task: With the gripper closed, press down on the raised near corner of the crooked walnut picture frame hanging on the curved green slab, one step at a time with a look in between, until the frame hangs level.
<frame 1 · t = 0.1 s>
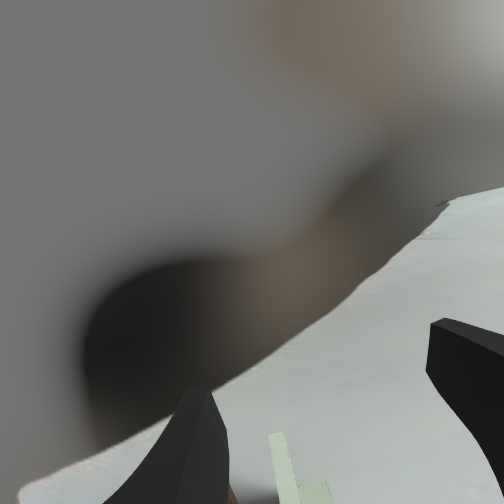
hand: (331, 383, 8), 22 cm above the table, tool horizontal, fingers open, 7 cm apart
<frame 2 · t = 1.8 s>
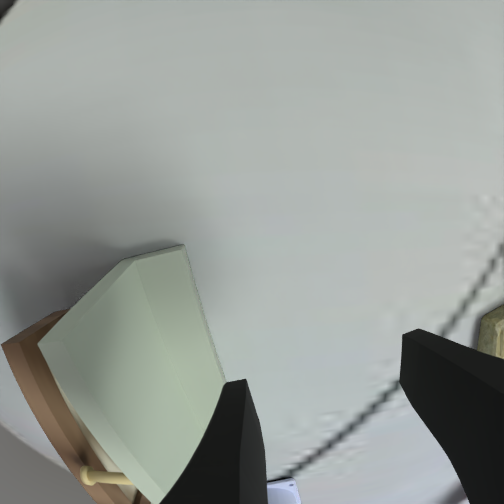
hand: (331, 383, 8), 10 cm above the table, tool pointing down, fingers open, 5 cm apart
picture frame: (91, 436, 15), point 5 cm above the table, hinge at 8.0°
curved green slab: (175, 376, 20), on the table
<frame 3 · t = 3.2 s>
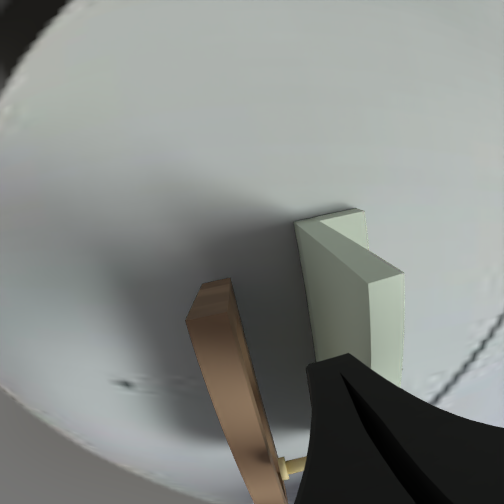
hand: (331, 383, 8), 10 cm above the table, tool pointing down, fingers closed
picture frame: (250, 426, 15), point 5 cm above the table, hinge at 8.0°
curved green slab: (322, 347, 20), on the table
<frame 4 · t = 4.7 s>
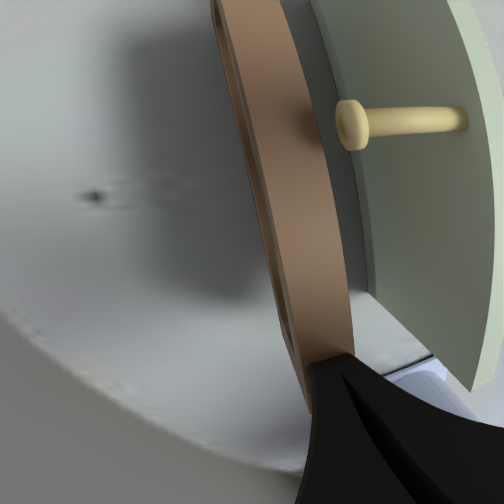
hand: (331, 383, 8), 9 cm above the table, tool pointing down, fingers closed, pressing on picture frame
picture frame: (273, 154, 10), point 5 cm above the table, hinge at 4.6°, touching gripper
curved green slab: (357, 138, 15), on the table
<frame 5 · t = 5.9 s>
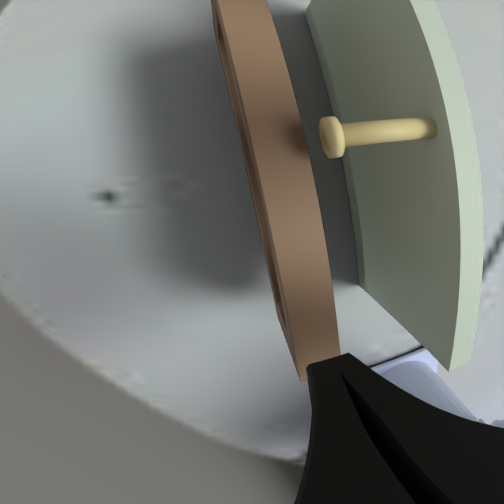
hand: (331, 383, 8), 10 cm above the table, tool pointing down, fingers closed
picture frame: (268, 157, 12), point 5 cm above the table, hinge at 3.0°
curved green slab: (348, 143, 17), on the table
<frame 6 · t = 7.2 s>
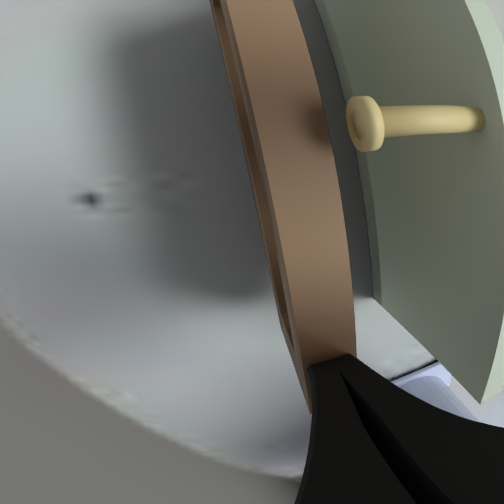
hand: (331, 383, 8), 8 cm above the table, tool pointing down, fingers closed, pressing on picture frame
picture frame: (274, 145, 9), point 5 cm above the table, hinge at -0.4°, touching gripper
curved green slab: (363, 138, 14), on the table
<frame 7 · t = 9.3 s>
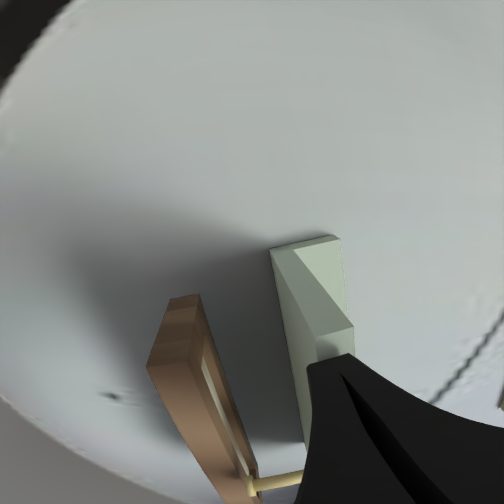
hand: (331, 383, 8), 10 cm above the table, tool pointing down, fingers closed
picture frame: (222, 437, 15), point 5 cm above the table, hinge at -0.9°
curved green slab: (300, 368, 20), on the table
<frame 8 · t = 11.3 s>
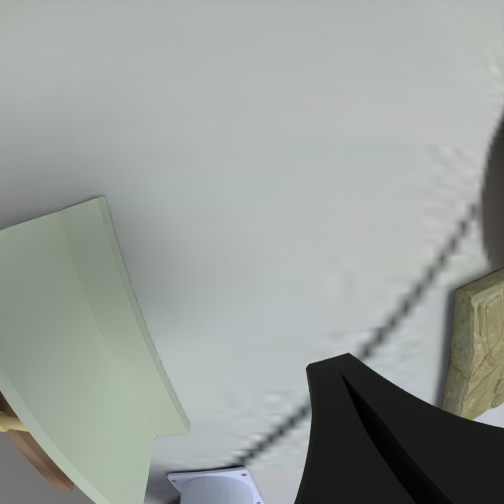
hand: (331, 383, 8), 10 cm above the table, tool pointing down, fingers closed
picture frame: (15, 383, 14), point 5 cm above the table, hinge at -0.9°
curved green slab: (105, 337, 19), on the table
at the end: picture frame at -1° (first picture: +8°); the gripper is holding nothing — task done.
